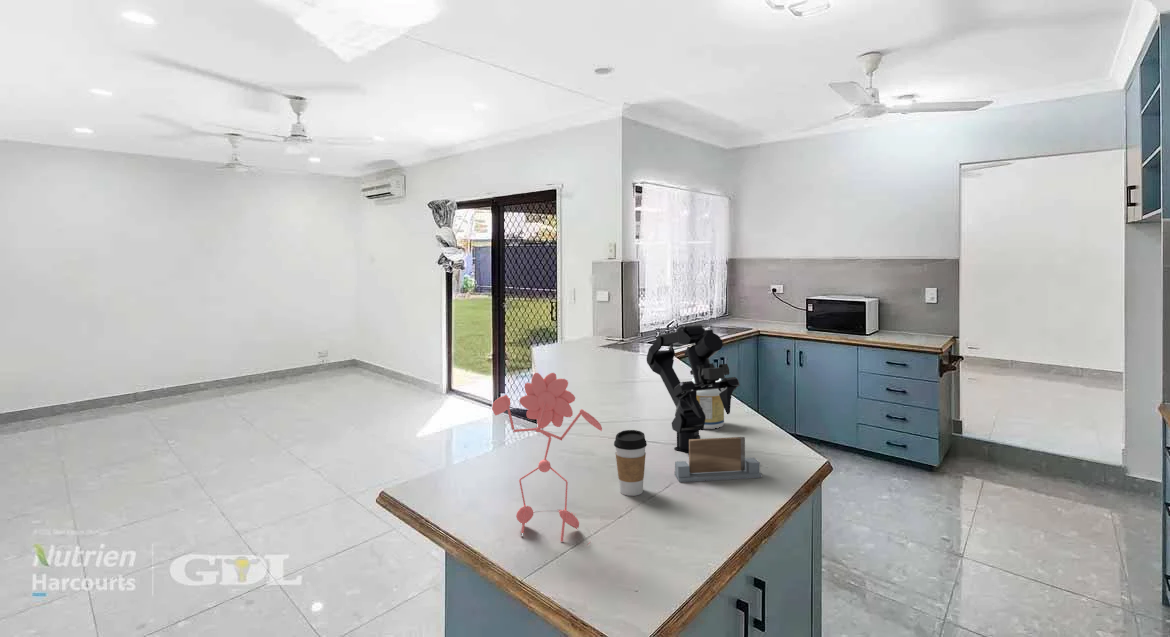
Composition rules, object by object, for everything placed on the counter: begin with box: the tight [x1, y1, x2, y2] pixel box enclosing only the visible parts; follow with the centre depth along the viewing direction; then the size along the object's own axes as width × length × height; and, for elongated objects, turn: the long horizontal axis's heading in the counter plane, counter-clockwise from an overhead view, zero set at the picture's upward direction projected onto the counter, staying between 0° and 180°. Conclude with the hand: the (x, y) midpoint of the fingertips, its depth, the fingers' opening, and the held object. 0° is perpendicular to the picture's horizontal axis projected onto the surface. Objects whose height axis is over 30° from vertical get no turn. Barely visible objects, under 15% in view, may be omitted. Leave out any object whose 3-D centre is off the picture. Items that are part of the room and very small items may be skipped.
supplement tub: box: [691, 377, 725, 430], centre depth 196 cm, size 12×12×17 cm
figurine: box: [491, 372, 603, 546], centre depth 121 cm, size 15×26×35 cm, turn 74°
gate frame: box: [674, 457, 762, 483], centre depth 148 cm, size 5×23×4 cm, turn 94°
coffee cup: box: [613, 429, 648, 497], centre depth 139 cm, size 8×8×15 cm
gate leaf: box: [688, 436, 746, 473], centre depth 148 cm, size 2×15×9 cm, turn 94°
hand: (714, 415), depth 154 cm, fingers open, 9 cm apart
